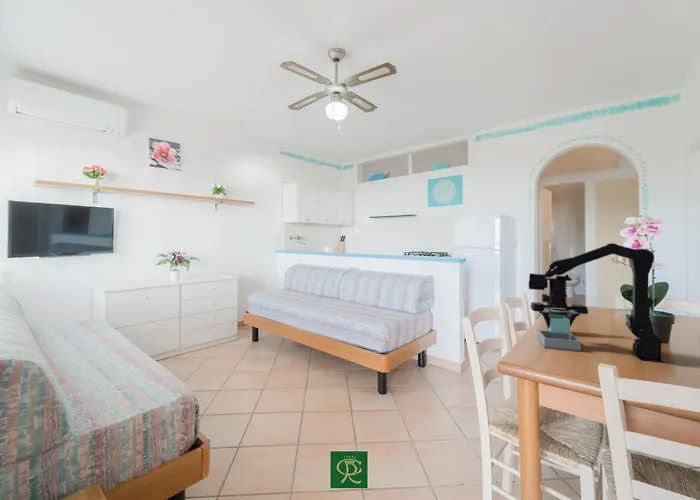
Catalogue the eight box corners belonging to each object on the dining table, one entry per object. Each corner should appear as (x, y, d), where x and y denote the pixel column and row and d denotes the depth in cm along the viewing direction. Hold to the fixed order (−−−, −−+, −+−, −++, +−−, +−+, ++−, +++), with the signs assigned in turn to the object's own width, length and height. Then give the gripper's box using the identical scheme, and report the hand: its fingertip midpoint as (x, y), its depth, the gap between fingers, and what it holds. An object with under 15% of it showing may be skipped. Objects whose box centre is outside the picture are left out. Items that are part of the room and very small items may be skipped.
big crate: (570, 342, 126) (570, 332, 126) (580, 351, 115) (580, 341, 115) (537, 339, 131) (537, 330, 131) (544, 348, 120) (544, 338, 119)
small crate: (564, 330, 125) (564, 315, 125) (569, 334, 119) (569, 319, 119) (547, 328, 127) (546, 314, 127) (551, 332, 121) (550, 318, 121)
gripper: (578, 289, 127) (578, 325, 127) (528, 287, 133) (528, 322, 134) (588, 293, 116) (588, 332, 117) (533, 291, 123) (533, 328, 123)
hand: (558, 328), depth 123 cm, fingers closed on small crate, 6 cm apart
